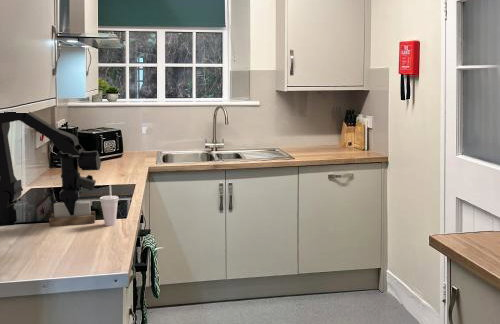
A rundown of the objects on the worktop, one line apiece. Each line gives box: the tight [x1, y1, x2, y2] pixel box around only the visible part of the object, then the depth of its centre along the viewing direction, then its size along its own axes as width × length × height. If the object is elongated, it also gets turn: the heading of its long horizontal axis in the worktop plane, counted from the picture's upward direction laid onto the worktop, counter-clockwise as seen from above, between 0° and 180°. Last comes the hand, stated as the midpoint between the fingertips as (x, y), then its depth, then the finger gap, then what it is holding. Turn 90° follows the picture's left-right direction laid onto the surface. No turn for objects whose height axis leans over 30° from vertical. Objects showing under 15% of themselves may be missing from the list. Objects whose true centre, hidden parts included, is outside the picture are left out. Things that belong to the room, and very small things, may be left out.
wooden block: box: [48, 210, 96, 227], centre depth 191 cm, size 15×7×3 cm, turn 103°
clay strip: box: [53, 200, 91, 218], centre depth 190 cm, size 12×3×5 cm, turn 103°
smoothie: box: [99, 184, 120, 227], centre depth 186 cm, size 6×6×14 cm
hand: (72, 213), depth 190 cm, fingers closed on clay strip, 3 cm apart
